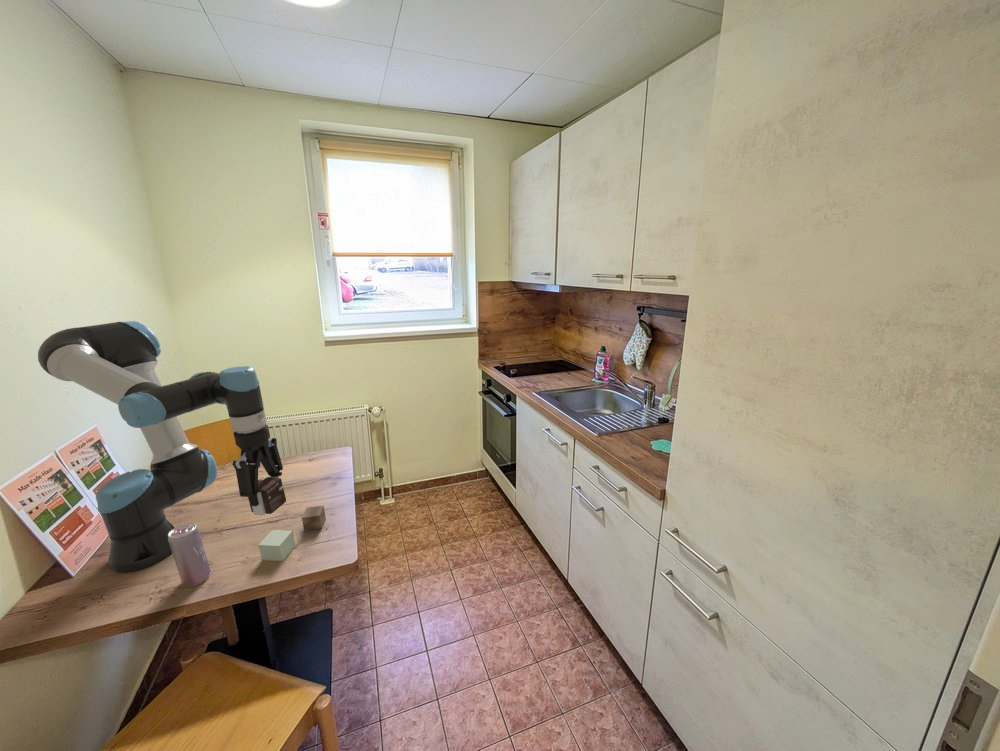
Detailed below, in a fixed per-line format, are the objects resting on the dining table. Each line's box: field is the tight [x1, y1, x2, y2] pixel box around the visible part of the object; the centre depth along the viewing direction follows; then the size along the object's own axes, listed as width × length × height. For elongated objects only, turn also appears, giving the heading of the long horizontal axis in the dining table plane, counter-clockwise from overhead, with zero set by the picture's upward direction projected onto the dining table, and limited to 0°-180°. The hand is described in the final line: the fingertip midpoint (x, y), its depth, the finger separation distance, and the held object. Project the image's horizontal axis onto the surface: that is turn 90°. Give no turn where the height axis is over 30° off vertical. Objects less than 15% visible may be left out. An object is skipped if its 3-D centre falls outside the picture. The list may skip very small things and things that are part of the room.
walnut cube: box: [301, 505, 327, 532], centre depth 119 cm, size 5×5×5 cm
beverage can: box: [168, 522, 211, 588], centre depth 98 cm, size 6×6×15 cm
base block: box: [258, 529, 296, 562], centre depth 108 cm, size 6×6×5 cm
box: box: [247, 476, 287, 515], centre depth 104 cm, size 6×6×7 cm
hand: (268, 505), depth 105 cm, fingers closed on box, 6 cm apart
